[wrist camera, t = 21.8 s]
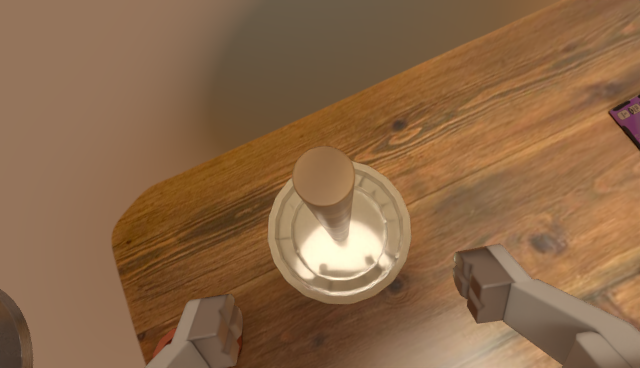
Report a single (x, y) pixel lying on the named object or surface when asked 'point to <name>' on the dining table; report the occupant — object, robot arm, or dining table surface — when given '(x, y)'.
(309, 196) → the stick
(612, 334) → the robot arm
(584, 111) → the dining table surface
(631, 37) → the dining table surface
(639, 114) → the candy box
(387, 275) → the bowl
